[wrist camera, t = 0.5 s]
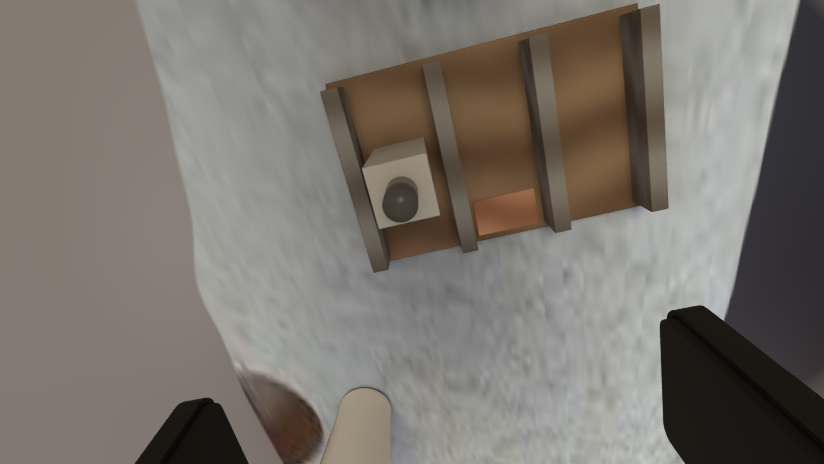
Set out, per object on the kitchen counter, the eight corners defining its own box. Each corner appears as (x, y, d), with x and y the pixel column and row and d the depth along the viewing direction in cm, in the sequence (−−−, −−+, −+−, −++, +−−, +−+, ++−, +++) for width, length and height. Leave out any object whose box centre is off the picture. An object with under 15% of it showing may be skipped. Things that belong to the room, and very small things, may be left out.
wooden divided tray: (328, 84, 33) (316, 84, 29) (629, 6, 31) (660, -6, 27) (378, 257, 38) (374, 278, 34) (642, 199, 36) (670, 214, 32)
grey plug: (374, 149, 33) (355, 179, 23) (423, 137, 33) (427, 161, 23) (386, 197, 35) (374, 246, 24) (434, 185, 34) (443, 230, 24)
